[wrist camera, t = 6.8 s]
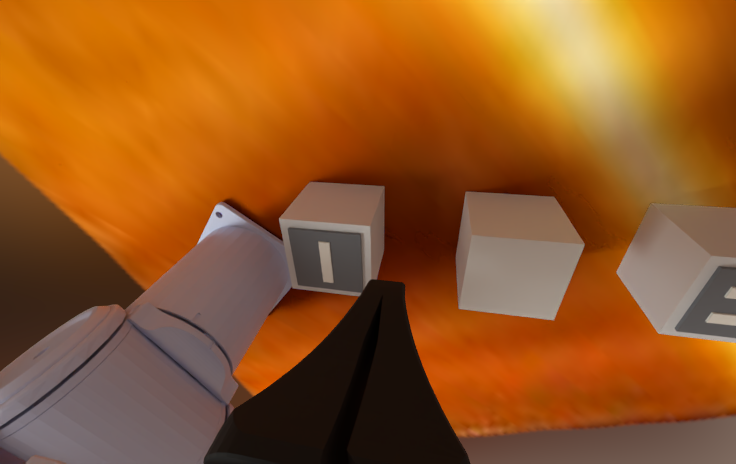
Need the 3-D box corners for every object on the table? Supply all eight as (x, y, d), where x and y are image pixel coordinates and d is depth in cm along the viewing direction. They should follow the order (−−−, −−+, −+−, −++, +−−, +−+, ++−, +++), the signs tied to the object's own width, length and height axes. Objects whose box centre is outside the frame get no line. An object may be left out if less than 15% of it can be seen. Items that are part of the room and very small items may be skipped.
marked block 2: (615, 271, 21) (661, 338, 16) (650, 202, 18) (716, 260, 14) (706, 280, 20) (780, 352, 16) (756, 208, 17) (863, 272, 13)
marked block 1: (318, 243, 24) (290, 291, 20) (310, 181, 22) (276, 221, 17) (384, 249, 23) (370, 301, 19) (384, 185, 21) (369, 229, 16)
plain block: (455, 256, 22) (458, 308, 18) (465, 190, 20) (471, 235, 16) (532, 263, 22) (553, 320, 18) (554, 196, 19) (585, 244, 15)
